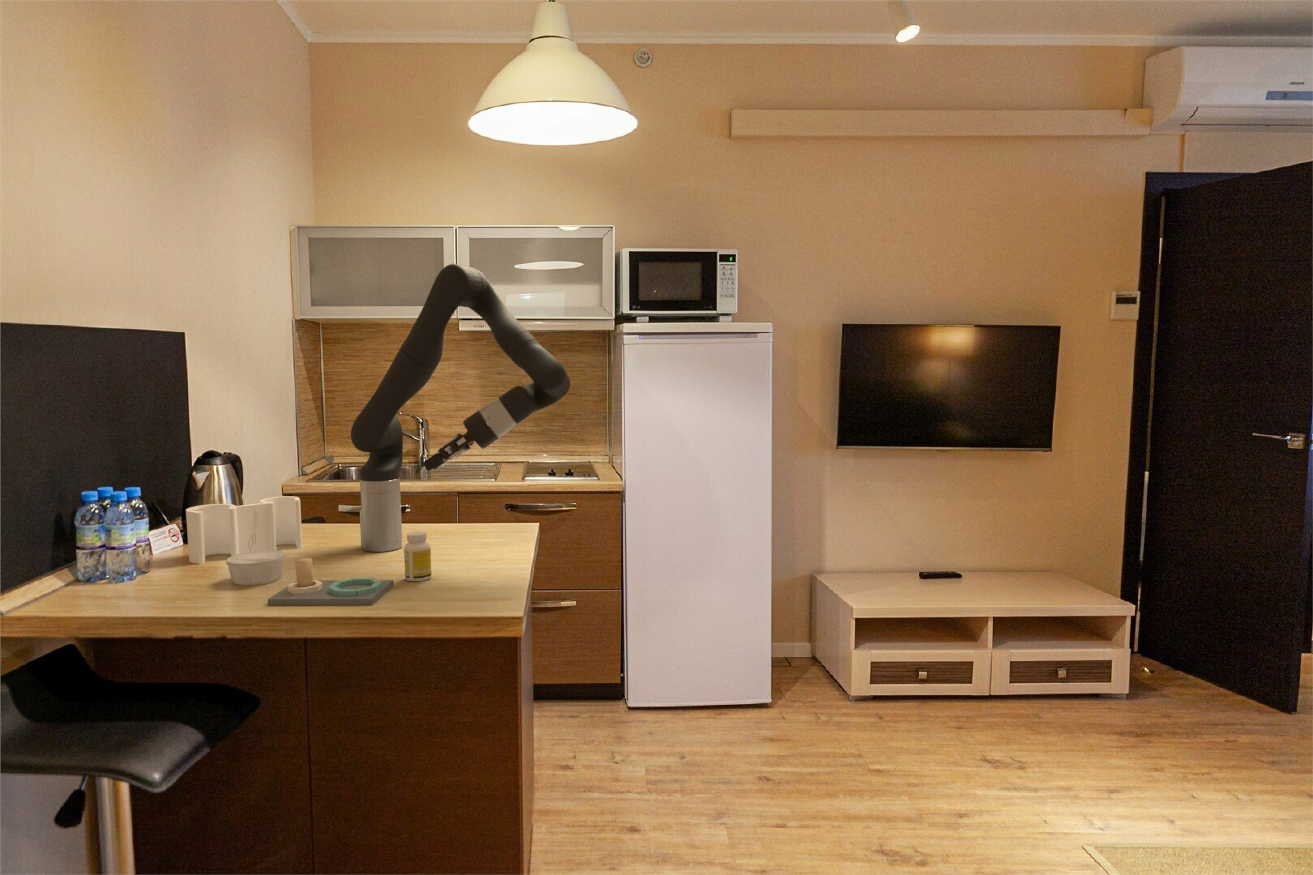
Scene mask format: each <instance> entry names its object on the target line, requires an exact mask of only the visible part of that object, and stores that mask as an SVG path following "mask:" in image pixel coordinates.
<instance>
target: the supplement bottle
mask: <svg viewBox="0 0 1313 875" xmlns="http://www.w3.org/2000/svg"><path fill="white" fill-rule="evenodd" d="M427 534H428V533H427V532H425V531H412V532H411V531H410V532H408V533H406V540H407V542H408V543H406V544H405V545H404V546H403V554H404V555H403V557H404V577H405V580H406V581H408V582H424V581H427V580H430V579H431V578H432V557H431V554H432V552H431V550H432V549H431V544H430V543H429V542H427V541H426V540H427V538H428V535H427Z"/></svg>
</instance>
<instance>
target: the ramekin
mask: <svg viewBox="0 0 1313 875" xmlns="http://www.w3.org/2000/svg"><path fill="white" fill-rule="evenodd" d="M285 557H286V554H285V552H283V551H282V550H277V551H276V550H257V551H250V552H244V553H240V554H236V555H233V556H231V555H230V556H229V557H228V558H227V559H226V565H227V566H228V571H229V575H230V577H231V581H232V582H233V584H235V585H237V586H244V587H248V586H260V585H266V584H270V583H274V582H276V581H278V580H280V579H281V577H282V575H283V572H284V571H283V570H284V562H285V560H284V559H285Z"/></svg>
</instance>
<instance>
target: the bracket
mask: <svg viewBox="0 0 1313 875" xmlns="http://www.w3.org/2000/svg"><path fill="white" fill-rule="evenodd" d="M185 516H186V517H185V518H186V530H187V534H186V535H187V550H188V561H189V563H193V564H197V565H204V564H206V556H210V555H217V554H218V555H220V554H228V555H230V557H231V556H233V555H236V554H240V553H244V552H250V551H257V550H276V551H278V550H277V546H279V545H295V546H296V547H295V548H296V549H302V548H303V533H302V532H303V530H302V511H301V499H300V497H298V496H292V495H291V496H290V495H289V496H288V495H286V496H273V497H266V498H262V499H261V500H259V503H251V504H244V505H243V504H242V505H235V504H231V503H212V504H200V505H195V506H190V507H188V508H186V509H185Z"/></svg>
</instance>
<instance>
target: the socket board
mask: <svg viewBox="0 0 1313 875" xmlns="http://www.w3.org/2000/svg"><path fill="white" fill-rule="evenodd" d="M313 572H314V571H313V558H312V557H311V558H310V557H302V558H297V559H296V560H295V573H296V574H295V575H296V580H295V581H294V582H292V583H290V584H288V585H287V586H285V587H284V588H283V589H280V591H278V592H277V593H275V594H273V595H272V596H271V597H269V598H267V605H268V606H372V605H373V606H374V604H375V603H376V602H377V601H379V600H380V599H381V598H382V597H383V596H384V595H385V594H386V593H388V592H389V591H390V589H392V588H393V587H394V586H395V585H394V583H395V582H394V579H393V580H392V579H377V578H374V577H353V578H347V579H343V580H340V579H338V580H337V579H333V580H330V579H329V580H327V579H321V580H319V579H318V580H317V579H314V576H313V575H314V574H313ZM283 604H284V605H283Z"/></svg>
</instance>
